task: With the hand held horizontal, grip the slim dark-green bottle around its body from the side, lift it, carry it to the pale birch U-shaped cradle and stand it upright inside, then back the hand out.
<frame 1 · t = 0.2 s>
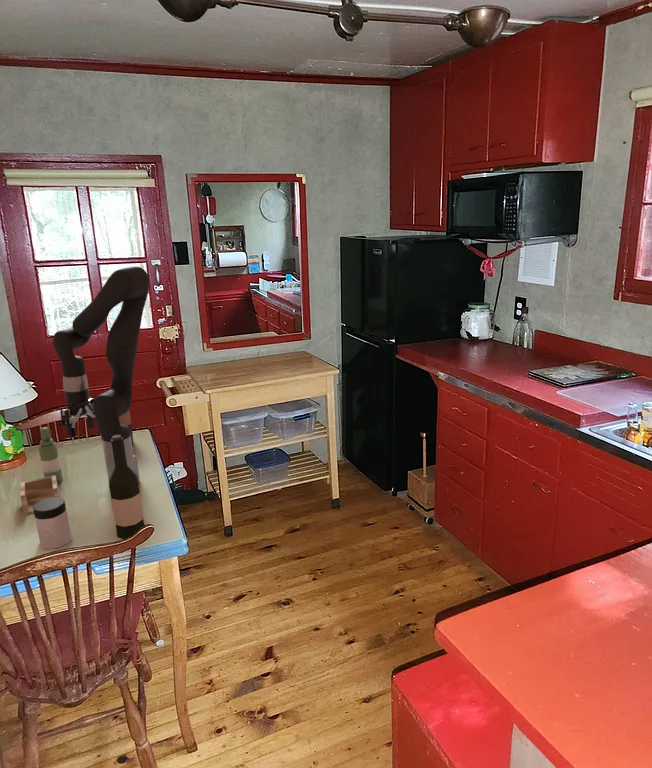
hand: (82, 432, 195), 18 cm above the table, tool pointing down, fingers open, 8 cm apart
wine bottle: (131, 532, 166), on the table
travel mug: (124, 444, 230), on the table
green bottle: (54, 481, 199), on the table
jar: (56, 542, 163), on the table
cradle: (42, 503, 184), on the table
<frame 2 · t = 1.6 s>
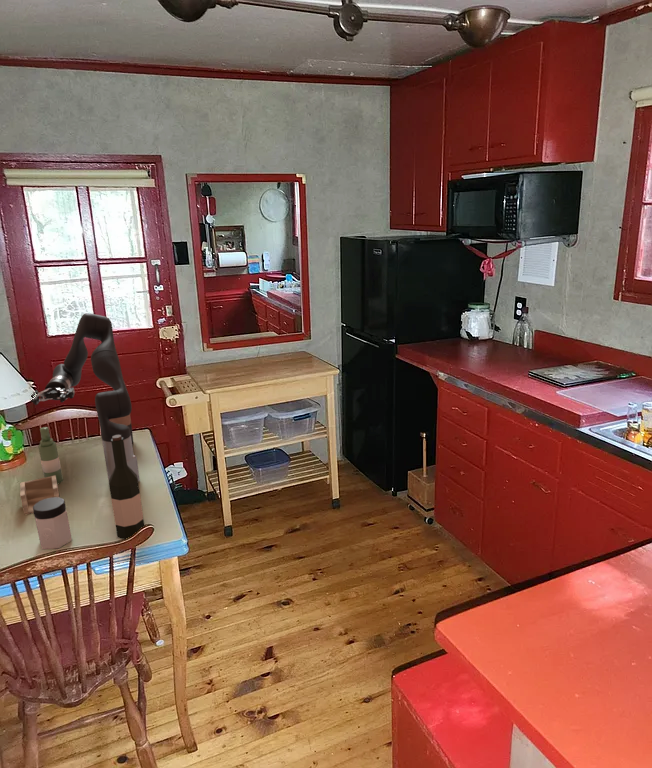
hand: (48, 401, 202), 26 cm above the table, tool horizontal, fingers open, 8 cm apart
nothing on the table moved.
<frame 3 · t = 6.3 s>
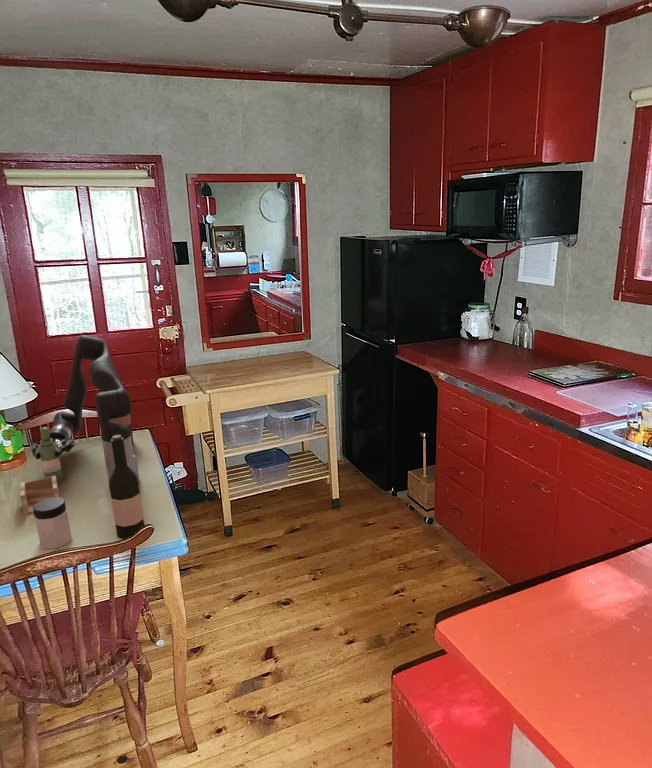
hand: (47, 455, 194), 11 cm above the table, tool horizontal, fingers closed on green bottle, 5 cm apart
green bottle: (54, 481, 199), on the table, touching gripper
everything else where it was.
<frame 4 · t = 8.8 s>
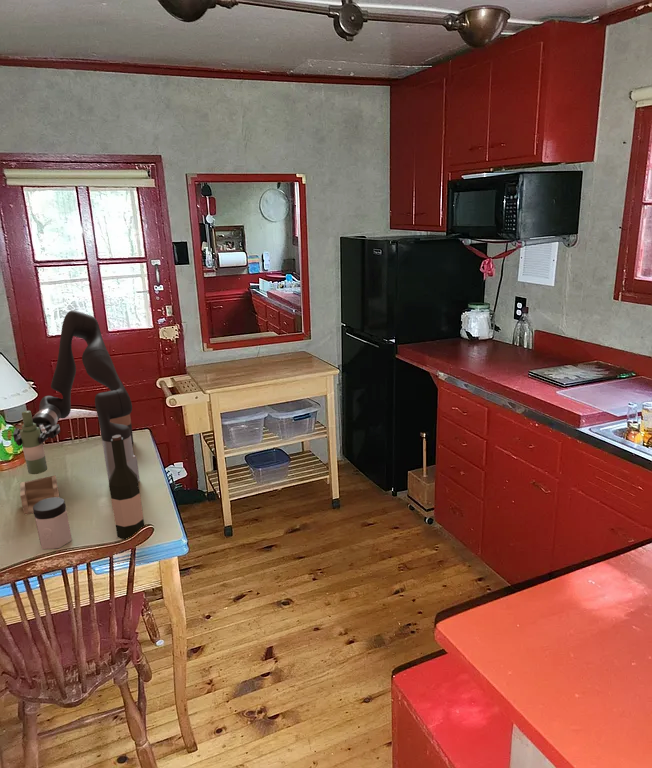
hand: (29, 441, 178), 22 cm above the table, tool horizontal, fingers closed on green bottle, 5 cm apart
green bottle: (37, 470, 183), point 11 cm above the table, touching gripper
everything else where it was.
when the fingers open (13 cm above the table, at t = 11.7 s): green bottle drops 1 cm, resting on cradle.
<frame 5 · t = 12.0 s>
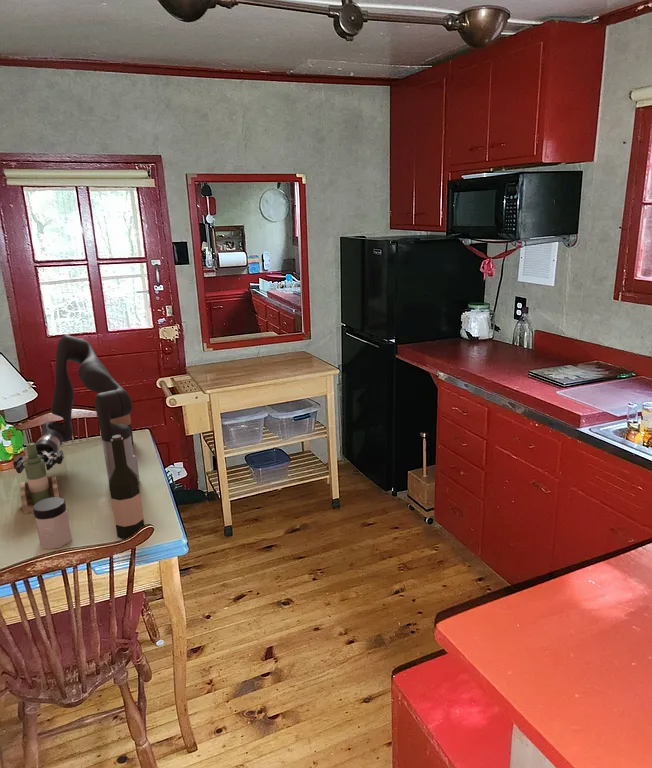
hand: (33, 469, 179), 13 cm above the table, tool horizontal, fingers open, 8 cm apart
green bottle: (41, 501, 184), point 1 cm above the table, touching cradle
everything else where it was.
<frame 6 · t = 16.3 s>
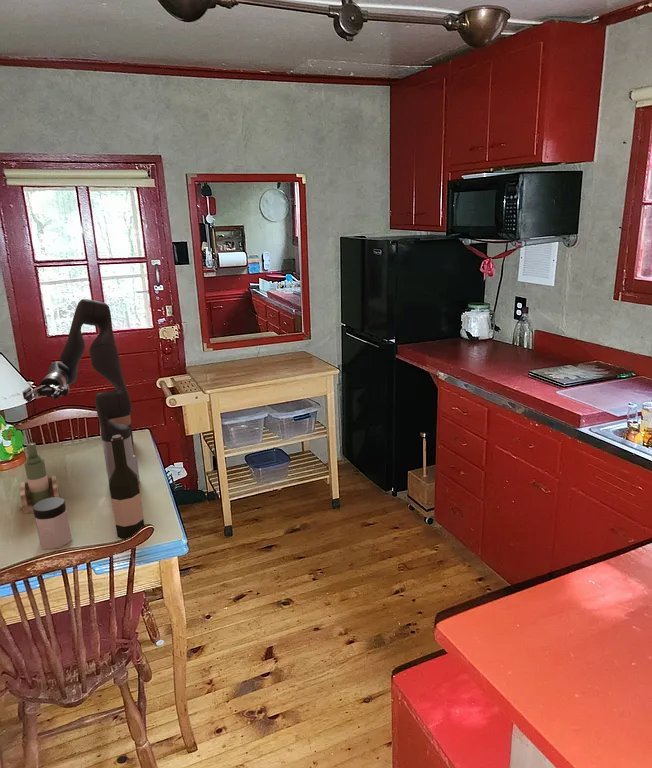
hand: (41, 398, 193), 30 cm above the table, tool horizontal, fingers open, 8 cm apart
nothing on the table moved.
at the end: green bottle 0.2 cm from the cradle (horizontally); green bottle tilted 0°; the gripper is holding nothing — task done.
